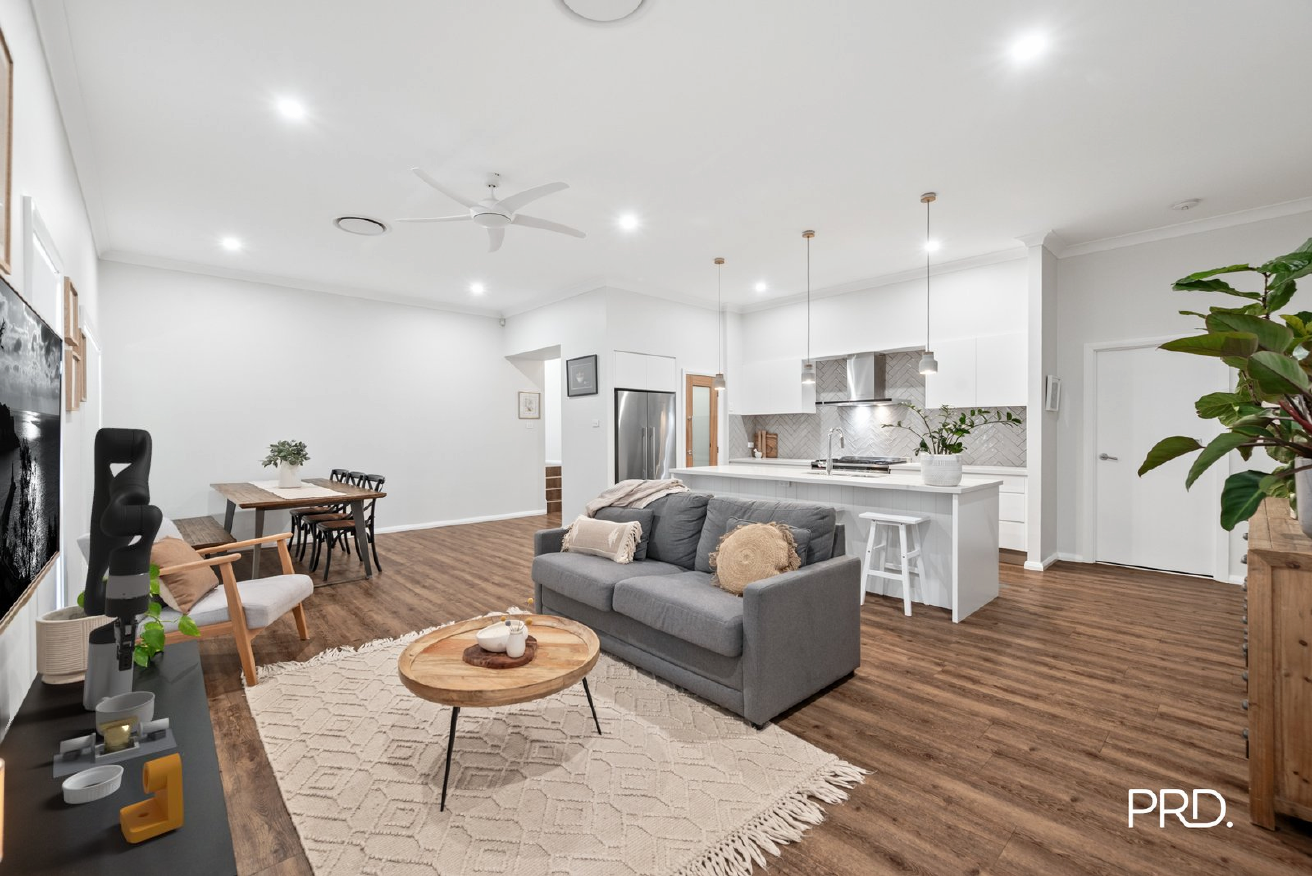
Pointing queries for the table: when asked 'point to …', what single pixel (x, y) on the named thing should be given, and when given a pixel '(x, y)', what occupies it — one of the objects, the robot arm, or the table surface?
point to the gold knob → (117, 734)
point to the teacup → (125, 708)
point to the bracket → (156, 801)
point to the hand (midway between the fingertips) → (123, 664)
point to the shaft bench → (93, 756)
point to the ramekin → (104, 774)
